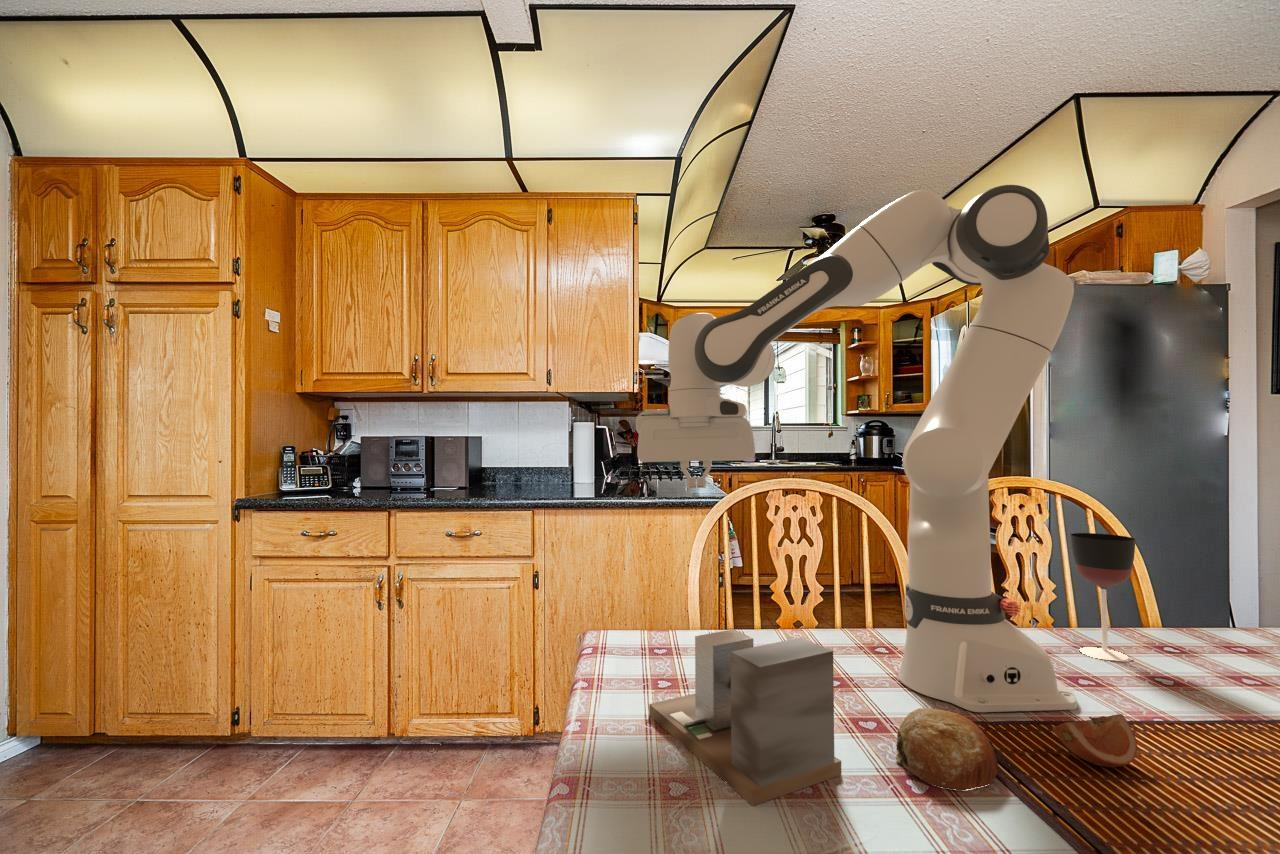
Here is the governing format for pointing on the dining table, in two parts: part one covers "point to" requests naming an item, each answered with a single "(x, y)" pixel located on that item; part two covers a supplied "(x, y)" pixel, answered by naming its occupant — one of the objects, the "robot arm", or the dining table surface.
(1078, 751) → the fruit slice
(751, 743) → the base
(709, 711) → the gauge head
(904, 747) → the bread roll
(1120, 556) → the wineglass
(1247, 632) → the dining table surface
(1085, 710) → the dining table surface
